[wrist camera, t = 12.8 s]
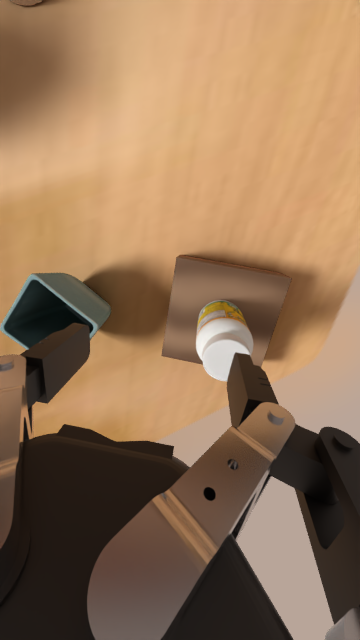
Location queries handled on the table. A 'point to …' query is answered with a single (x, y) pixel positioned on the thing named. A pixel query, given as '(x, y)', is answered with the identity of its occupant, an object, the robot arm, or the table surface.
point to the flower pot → (53, 308)
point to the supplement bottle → (221, 337)
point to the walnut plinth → (221, 284)
